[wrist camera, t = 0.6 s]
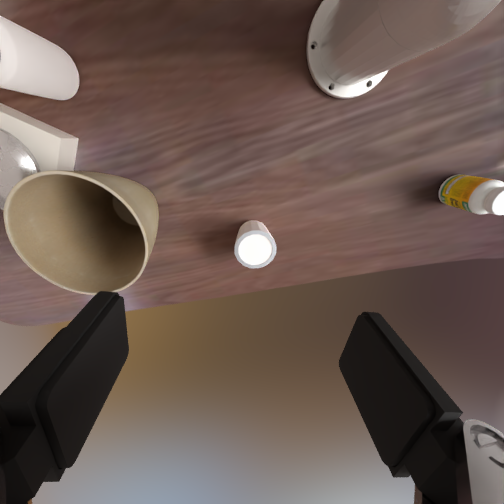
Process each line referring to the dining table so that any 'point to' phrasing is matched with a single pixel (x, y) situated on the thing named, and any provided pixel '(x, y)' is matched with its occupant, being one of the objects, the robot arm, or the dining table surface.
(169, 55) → the dining table surface
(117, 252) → the plant pot
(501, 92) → the dining table surface
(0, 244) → the dining table surface
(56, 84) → the can
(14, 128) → the scale housing
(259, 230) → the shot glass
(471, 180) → the supplement bottle
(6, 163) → the scale pan
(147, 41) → the dining table surface
